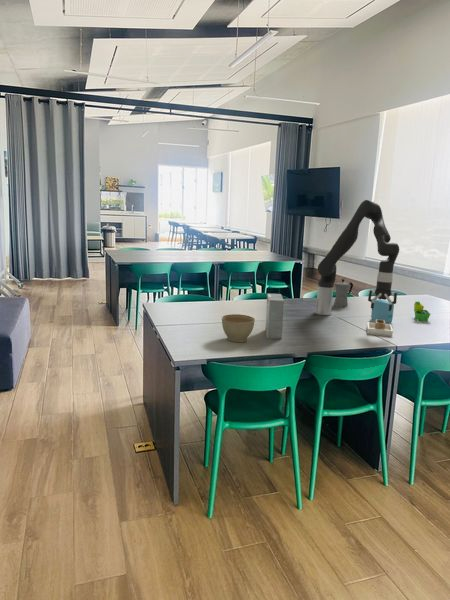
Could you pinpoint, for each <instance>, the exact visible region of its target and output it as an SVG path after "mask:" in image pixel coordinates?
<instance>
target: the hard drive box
mask: <svg viewBox="0 0 450 600" xmlns="http://www.w3.org/2000/svg"><path fill="white" fill-rule="evenodd" d="M284 304H285V300H284V298H283V295H282V294H281V293H267V294H266V313H265V314H266V315H265V333H266V337H267V339H276V340H277V339H280V340H281V339H283V327H284V325H283V323H284V307H285V305H284Z"/></svg>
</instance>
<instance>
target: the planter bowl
mask: <svg viewBox="0 0 450 600" xmlns="http://www.w3.org/2000/svg"><path fill="white" fill-rule="evenodd" d="M255 320H256V319H255V317H253V316H250V315H246V314H240V313H239V314H238V313H237V314H235V313H234V314H232V313H231V314H224V315H222V316H221V325H222V329H223V332H224V334H225V336H226V338H227V340H228V341H230V342H233V343H234V342H235V343H243V342H246V341H247V340H248V338H249V336H250V335H251V334H252V332H253V329H254V326H255Z"/></svg>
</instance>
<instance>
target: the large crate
mask: <svg viewBox="0 0 450 600" xmlns="http://www.w3.org/2000/svg"><path fill="white" fill-rule="evenodd" d="M366 333H367V335H373V336H374V335H375V336H385V337H393V333H394V330H393V325H392V324H390V323H385V330H382V329H375V322H369V321H367V323H366Z"/></svg>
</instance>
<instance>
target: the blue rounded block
mask: <svg viewBox="0 0 450 600" xmlns="http://www.w3.org/2000/svg"><path fill="white" fill-rule="evenodd" d="M389 304H390V303H389V301H388V300H383V299H377V300H375V301H374V308H373V310H372V309H371V313H370V314H371V315H370V319H371V320H373V321H376V319H377V320H385V324H390V323H392V322H393V319H394V309H395V304H393V305H392V310H390V311H389Z"/></svg>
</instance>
